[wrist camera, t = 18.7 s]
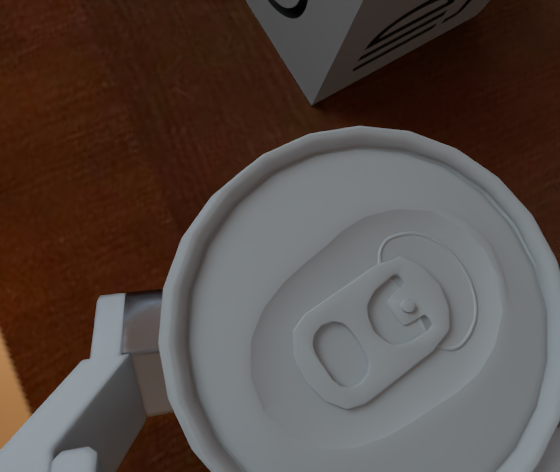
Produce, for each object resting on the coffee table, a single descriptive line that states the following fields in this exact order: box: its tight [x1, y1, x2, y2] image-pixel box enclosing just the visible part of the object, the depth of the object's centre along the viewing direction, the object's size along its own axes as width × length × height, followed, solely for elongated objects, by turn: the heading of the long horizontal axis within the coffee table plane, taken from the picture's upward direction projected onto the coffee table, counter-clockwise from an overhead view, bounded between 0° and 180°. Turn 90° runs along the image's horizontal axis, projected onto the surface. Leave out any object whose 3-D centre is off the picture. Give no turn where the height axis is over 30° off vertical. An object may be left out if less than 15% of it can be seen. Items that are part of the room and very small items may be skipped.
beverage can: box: [158, 126, 560, 472], centre depth 12 cm, size 5×5×12 cm
